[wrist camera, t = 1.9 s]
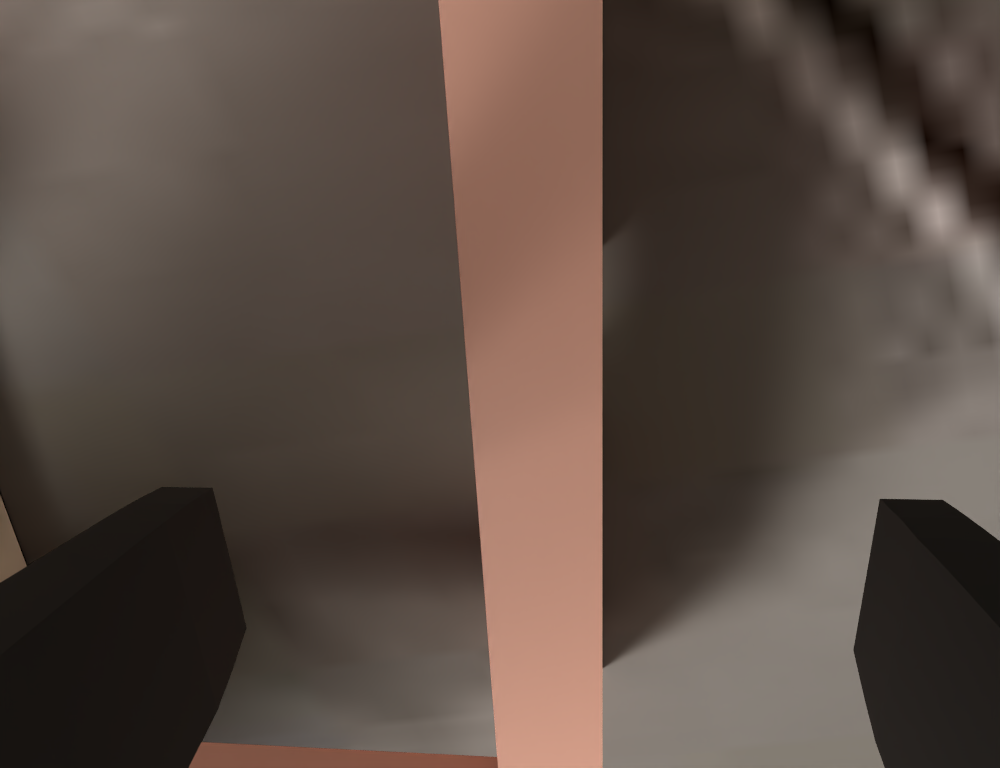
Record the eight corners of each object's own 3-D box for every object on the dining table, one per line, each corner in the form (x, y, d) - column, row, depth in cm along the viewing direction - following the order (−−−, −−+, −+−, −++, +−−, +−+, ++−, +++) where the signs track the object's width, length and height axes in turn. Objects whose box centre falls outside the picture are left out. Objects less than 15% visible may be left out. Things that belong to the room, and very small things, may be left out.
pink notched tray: (601, 670, 19) (602, 892, 14) (113, 651, 20) (-26, 850, 16) (601, -205, 12) (603, -303, 7) (-154, -144, 13) (-546, -195, 9)
